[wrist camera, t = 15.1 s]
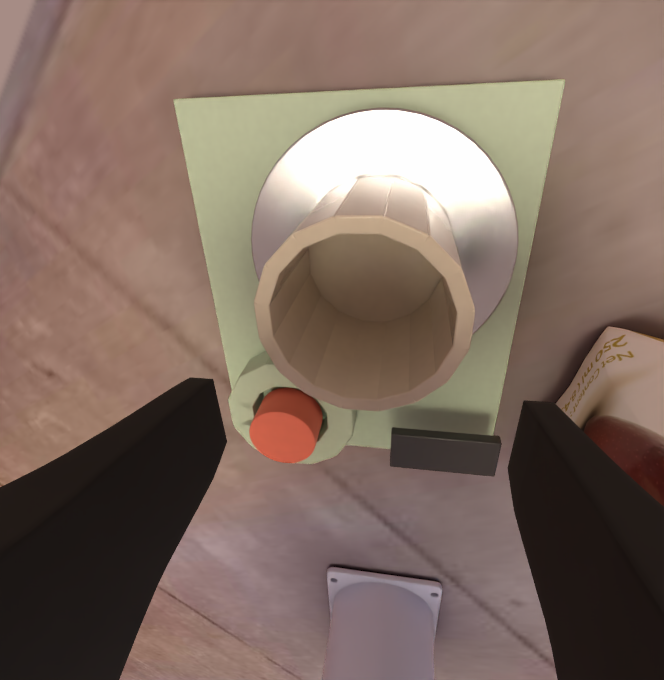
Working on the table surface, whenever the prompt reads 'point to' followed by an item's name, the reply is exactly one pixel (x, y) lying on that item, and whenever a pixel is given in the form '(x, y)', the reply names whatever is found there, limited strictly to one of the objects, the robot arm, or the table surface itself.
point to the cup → (367, 298)
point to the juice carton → (623, 403)
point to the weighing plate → (445, 188)
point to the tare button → (286, 425)
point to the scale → (238, 209)
